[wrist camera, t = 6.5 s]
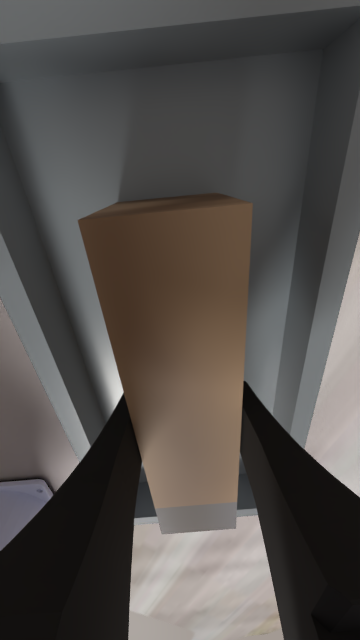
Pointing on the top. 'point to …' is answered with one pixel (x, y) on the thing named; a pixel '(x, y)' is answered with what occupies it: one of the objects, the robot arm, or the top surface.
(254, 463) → the robot arm
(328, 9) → the tray
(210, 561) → the top surface
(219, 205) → the strut
